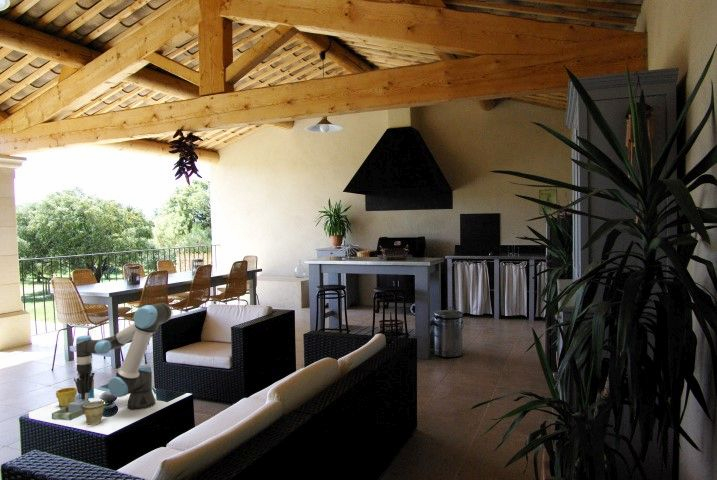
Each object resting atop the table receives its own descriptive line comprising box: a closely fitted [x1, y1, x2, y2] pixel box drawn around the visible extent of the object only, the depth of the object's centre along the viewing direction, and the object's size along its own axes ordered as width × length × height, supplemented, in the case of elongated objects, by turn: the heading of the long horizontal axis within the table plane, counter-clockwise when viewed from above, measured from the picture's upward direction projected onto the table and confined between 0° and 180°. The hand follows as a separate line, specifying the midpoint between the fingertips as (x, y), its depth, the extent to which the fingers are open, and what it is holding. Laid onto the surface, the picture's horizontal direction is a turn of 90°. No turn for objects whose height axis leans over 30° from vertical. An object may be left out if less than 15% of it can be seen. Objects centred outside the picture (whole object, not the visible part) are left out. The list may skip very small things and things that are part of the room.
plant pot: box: [55, 387, 78, 408], centre depth 283 cm, size 10×10×10 cm
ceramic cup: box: [83, 400, 107, 426], centre depth 257 cm, size 13×10×10 cm
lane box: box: [51, 399, 103, 421], centre depth 270 cm, size 12×25×4 cm, turn 168°
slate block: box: [67, 399, 91, 413], centre depth 271 cm, size 8×7×5 cm
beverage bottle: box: [78, 368, 95, 400], centre depth 296 cm, size 8×8×20 cm
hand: (84, 404), depth 275 cm, fingers closed
